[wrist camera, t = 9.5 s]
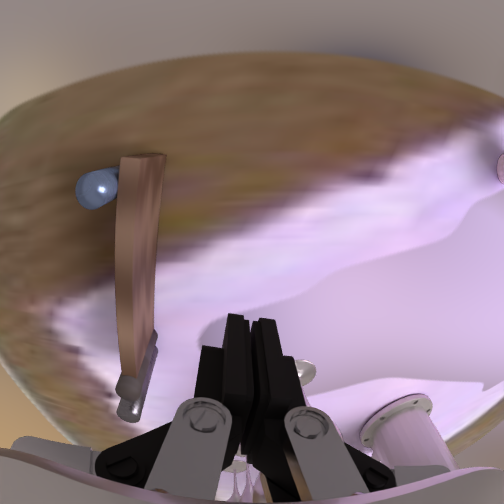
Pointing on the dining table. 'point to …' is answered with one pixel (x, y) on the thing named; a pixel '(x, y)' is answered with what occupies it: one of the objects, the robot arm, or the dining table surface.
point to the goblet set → (250, 493)
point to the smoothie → (501, 168)
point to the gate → (136, 266)
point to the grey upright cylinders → (92, 197)
